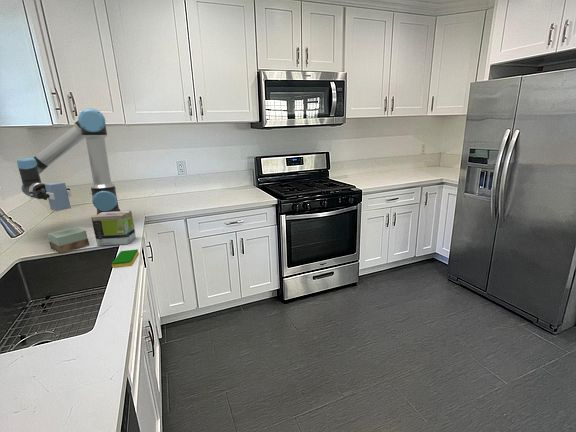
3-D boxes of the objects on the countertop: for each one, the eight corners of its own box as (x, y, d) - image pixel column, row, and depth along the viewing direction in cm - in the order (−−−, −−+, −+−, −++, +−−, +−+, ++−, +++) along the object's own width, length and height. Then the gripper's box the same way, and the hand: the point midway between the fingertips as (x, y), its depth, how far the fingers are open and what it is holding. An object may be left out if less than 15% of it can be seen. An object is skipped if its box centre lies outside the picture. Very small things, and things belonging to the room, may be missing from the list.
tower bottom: (78, 241, 161) (76, 234, 160) (89, 246, 155) (87, 238, 154) (51, 249, 152) (49, 241, 151) (62, 254, 145) (60, 246, 144)
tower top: (77, 234, 160) (75, 226, 159) (87, 238, 153) (85, 230, 152) (49, 241, 151) (47, 233, 150) (59, 246, 144) (57, 238, 143)
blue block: (65, 206, 152) (59, 182, 149) (70, 208, 149) (65, 182, 146) (50, 209, 148) (44, 184, 144) (56, 211, 144) (50, 185, 141)
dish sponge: (112, 268, 128) (111, 263, 127) (121, 255, 141) (120, 250, 140) (131, 266, 129) (130, 261, 129) (138, 254, 142) (138, 249, 142)
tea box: (136, 237, 163) (131, 210, 159) (127, 244, 153) (122, 215, 149) (107, 239, 163) (101, 211, 159) (96, 246, 153) (90, 216, 149)
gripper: (64, 194, 165) (85, 198, 152) (19, 202, 150) (39, 207, 137) (61, 180, 163) (82, 183, 150) (15, 186, 148) (34, 190, 135)
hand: (61, 195), depth 144 cm, fingers closed on blue block, 6 cm apart
